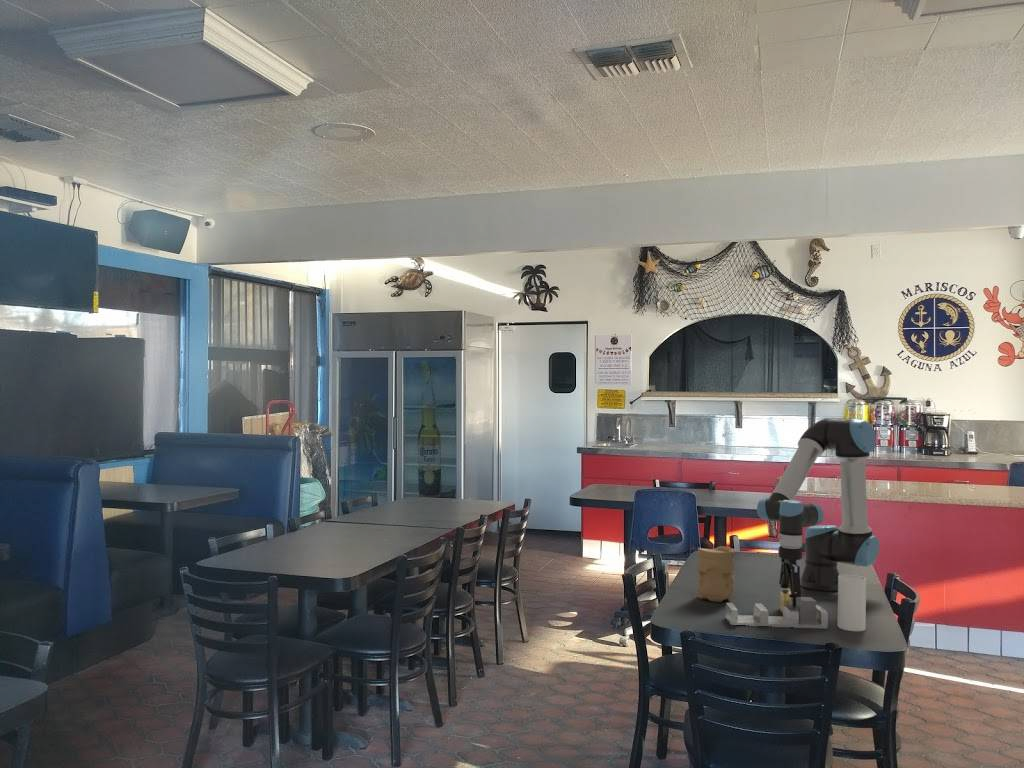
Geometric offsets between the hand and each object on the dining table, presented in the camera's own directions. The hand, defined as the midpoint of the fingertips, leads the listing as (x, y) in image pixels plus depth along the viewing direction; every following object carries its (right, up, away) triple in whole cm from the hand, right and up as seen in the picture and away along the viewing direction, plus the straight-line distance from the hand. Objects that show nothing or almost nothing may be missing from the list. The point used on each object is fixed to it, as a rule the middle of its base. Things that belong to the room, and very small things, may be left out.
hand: (789, 611), depth 285 cm
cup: (+14, -1, -17) cm, 22 cm away
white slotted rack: (-9, 0, -13) cm, 16 cm away
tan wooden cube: (0, 0, 0) cm, 0 cm away
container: (-21, 0, +16) cm, 27 cm away
